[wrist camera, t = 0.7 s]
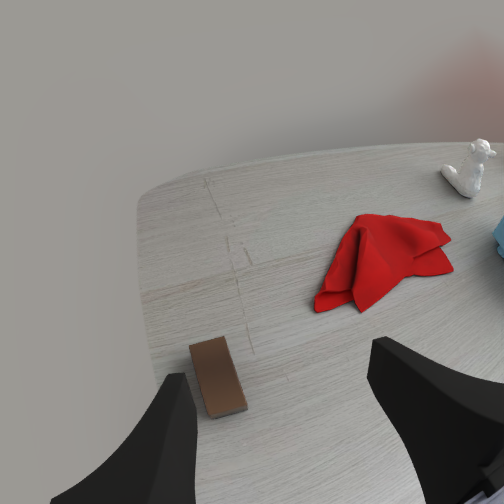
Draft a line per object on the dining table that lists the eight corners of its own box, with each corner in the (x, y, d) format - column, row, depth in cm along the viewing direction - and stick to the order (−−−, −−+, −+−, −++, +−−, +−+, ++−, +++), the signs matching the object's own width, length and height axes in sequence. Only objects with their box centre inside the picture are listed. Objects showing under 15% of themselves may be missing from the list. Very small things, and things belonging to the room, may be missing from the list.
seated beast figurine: (473, 180, 50) (493, 135, 41) (485, 207, 45) (511, 159, 35) (438, 169, 51) (457, 120, 42) (449, 196, 46) (473, 143, 37)
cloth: (422, 204, 44) (426, 193, 42) (470, 266, 36) (477, 257, 34) (278, 235, 39) (279, 223, 38) (321, 327, 31) (325, 317, 29)
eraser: (248, 409, 26) (247, 404, 23) (212, 419, 25) (208, 415, 23) (226, 346, 30) (224, 335, 27) (193, 355, 29) (188, 345, 27)
